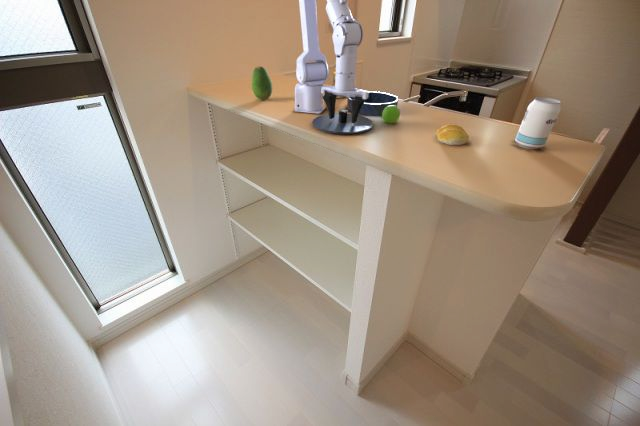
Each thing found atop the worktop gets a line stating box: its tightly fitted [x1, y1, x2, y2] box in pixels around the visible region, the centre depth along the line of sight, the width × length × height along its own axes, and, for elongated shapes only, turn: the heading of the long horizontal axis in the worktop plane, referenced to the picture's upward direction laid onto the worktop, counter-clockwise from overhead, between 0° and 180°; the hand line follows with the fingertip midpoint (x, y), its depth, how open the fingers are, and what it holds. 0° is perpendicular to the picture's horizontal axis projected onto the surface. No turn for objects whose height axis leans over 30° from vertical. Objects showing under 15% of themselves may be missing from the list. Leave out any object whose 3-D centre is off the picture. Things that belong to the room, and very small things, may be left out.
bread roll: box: [436, 123, 470, 146], centre depth 83 cm, size 8×9×4 cm
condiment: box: [332, 63, 348, 99], centre depth 123 cm, size 7×8×12 cm
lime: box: [381, 105, 401, 124], centre depth 95 cm, size 6×6×6 cm
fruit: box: [251, 65, 273, 101], centre depth 115 cm, size 8×8×12 cm
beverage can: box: [514, 97, 562, 150], centre depth 78 cm, size 7×7×12 cm
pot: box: [346, 91, 399, 117], centre depth 109 cm, size 18×18×4 cm
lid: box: [312, 109, 374, 135], centre depth 92 cm, size 19×19×4 cm
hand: (342, 120), depth 93 cm, fingers open, 7 cm apart
